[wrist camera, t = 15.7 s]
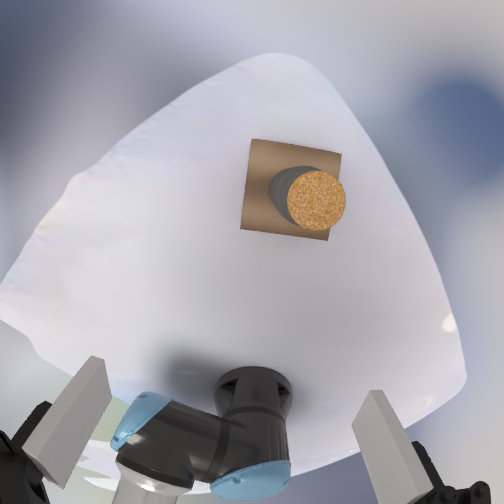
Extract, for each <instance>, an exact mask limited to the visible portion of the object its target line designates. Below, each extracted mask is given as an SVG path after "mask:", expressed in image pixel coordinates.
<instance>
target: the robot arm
mask: <svg viewBox="0 0 504 504" xmlns="http://www.w3.org/2000/svg"><path fill="white" fill-rule="evenodd" d="M111 399H112V395H111V391H110V387H109V382H108V377H107V372H106V367H105V362H104V359H101V358H98V357H95V356H90V358H89V359H88V360H87V361H86V362H85V364H84V365H83V366H82V367H81V369H80V370H79V371H78V372H77V374H76V375H75V376H74V377H73V379H72V380H71V381H70V382H69V384H68V385H67V386H66V388H65V389H64V390H63V392H62V393H61V394H60V395H59V397H58V398H57V399H56V401H55V402H54V403H53V404H51V403H49V402H47V401H45V402H43V403H41V404H39V405H37V406H36V408H35V409H34V410H33V412H32V413H31V415H29V417H28V418H27V420H25V422H24V423H23V424H22V426H21V427H20V428H19V430H18V431H17V433H16V434H15V435H14V437H13V438H12V440H10V439H9V438H8V436H7V435H6V434H5V433H4V432H3V431H1V430H0V504H50V502H49V499H48V496H47V493H46V490H45V487H44V484H43V482H42V478H43V476H44V477H45V478H46V479H47V480H48V481H49V482H50V483H52V484H54V485H56V486H57V487H59V488H61V489H64V487H65V485H66V483H67V481H68V479H69V477H70V475H71V473H72V471H73V469H74V467H75V465H76V463H77V461H78V459H79V457H80V455H81V454H82V452H83V450H84V448H85V446H86V444H87V442H88V440H89V438H90V437H91V435H92V433H93V431H94V429H95V427H96V425H97V424H98V422H99V420H100V418H101V416H102V415H103V413H104V411H105V409H106V407H107V406H108V404H109V402H110V401H111ZM291 402H292V394H291V387H290V385H289V383H288V381H287V380H286V379H285V378H284V377H283V376H282V375H281V374H279V373H277V372H275V371H273V370H270V369H267V368H262V367H243V368H239V369H235V370H232V371H230V372H228V373H226V374H225V375H224V376H222V377H221V378H220V379H219V381H218V382H217V384H216V387H215V392H214V403H215V406H216V409H217V413H218V416H219V417H218V416H215V415H212V414H209V413H206V412H203V411H200V410H197V409H194V408H192V407H189V406H186V405H184V404H181V403H179V402H176V401H174V400H173V399H172V398H166V397H164V396H161V395H158V394H156V393H153V392H143V393H141V394H140V395H139V396H138V397H137V398H136V399H135V400H134V401H133V403H132V404H131V406H130V407H129V409H128V410H127V412H126V413H125V415H124V417H123V418H122V420H121V422H120V423H119V425H118V427H117V429H116V431H115V434H114V436H113V438H112V440H111V443H110V446H111V448H113V449H114V451H116V452H117V451H118V455H117V457H116V460H115V463H116V465H117V467H118V468H119V470H120V472H121V478H120V481H119V484H118V487H117V490H116V492H115V495H114V499H113V501H112V504H176V501H177V498H178V496H179V495H181V494H183V493H186V492H188V491H191V490H192V487H193V483H194V481H195V480H198V481H202V482H205V483H209V484H210V489H211V492H212V493H213V494H214V495H215V496H218V497H219V498H222V499H227V500H234V501H248V500H258V499H263V498H267V497H270V496H273V495H276V494H278V493H280V492H281V491H283V490H284V489H285V488H286V487H287V486H288V485H289V482H290V467H291V463H290V459H289V450H288V441H287V432H286V423H285V421H286V418H287V415H288V412H289V409H290V406H291ZM352 428H353V431H354V434H355V436H356V439H357V442H358V445H359V447H360V450H361V453H362V456H363V458H364V461H365V464H366V467H367V470H368V473H369V476H370V479H371V481H372V484H373V487H374V490H375V493H376V496H377V499H378V502H379V504H491V496H490V488H489V486H488V484H487V483H485V482H483V481H478V482H476V483H475V484H473V485H472V486H471V487H470V488H466V489H459V490H456V489H455V488H454V487H451V486H445V485H444V484H443V482H442V480H441V478H440V476H439V474H438V472H437V471H436V469H435V467H434V465H433V463H431V459H430V457H429V456H428V454H427V452H426V450H425V448H424V447H423V446H422V445H421V444H420V443H419V442H418V441H414V442H410V440H409V438H408V436H407V434H406V432H405V430H404V428H403V427H402V425H401V423H400V421H399V419H398V417H397V416H396V414H395V412H394V410H393V408H392V407H391V405H390V403H389V401H388V399H387V398H386V396H385V394H384V392H383V390H372V391H369V393H368V395H367V397H366V399H365V401H364V403H363V405H362V407H361V409H360V411H359V412H358V414H357V416H356V418H355V420H354V421H353V423H352Z"/></svg>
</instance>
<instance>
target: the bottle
mask: <svg viewBox="0 0 504 504" xmlns="http://www.w3.org/2000/svg"><path fill="white" fill-rule="evenodd" d="M269 193H270V197H271V200H272V202H273V204H274V205H275V207H276V208H277V210H278V211H279V212H280V214H281V215H282V216H283V217H284V218H285V219H286V220H287V221H289V222H290V223H292V224H294V225H297V226H301V227H303V228H305V229H308V230H313V231H320V230H325V229H327V228H330V227H331V226H333V225H334V224H335V223H336V222H337V221H338V220H339V219H340V218H341V216H342V214H343V212H344V209H345V203H346V201H345V193H344V190H343V187H342V186H341V184H340V183H339V181H338V180H337V179H336V178H335V177H333V176H332V175H330V174H328V173H326V172H323V171H321V170H320V169H318V168H315V167H312V166H298V167H292V168H288V169H285V170H282V171H280V172H279V173H277V174H276V175H275V176H274V178H273V179H272V181H271V184H270V188H269Z"/></svg>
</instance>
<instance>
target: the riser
mask: <svg viewBox="0 0 504 504" xmlns="http://www.w3.org/2000/svg"><path fill="white" fill-rule="evenodd" d="M341 155H342V154H339V153H335V152H330V151H325V150H320V149H315V148H310V147H304V146H298V145H293V144H286V143H280V142H273V141H266V140H259V139H252V141H251V148H250V156H249V163H248V171H247V179H246V186H245V194H244V202H243V210H242V218H241V226H240V229H245V230H253V231H261V232H268V233H276V234H283V235H290V236H298V237H305V238H312V239H319V240H326V241H328V237H329V231H330V228H327V229H325V230H320V231H313V230H308V229H305V228H303V227H301V226H297V225H294V224H292V223H290V222H289V221H287V220H286V219H285V218H284V217H283V216H282V215H281V214H280V212H279V211H278V210H277V208H276V207H275V205H274V204H273V202H272V200H271V197H270V193H269V188H270V184H271V181H272V179H273V178H274V176H275V175H276V174H277V173H279V172H280V171H282V170H285V169H288V168H292V167H298V166H312V167H315V168H318V169H320V170H321V171H323V172H326V173H328V174H330V175H332V176H333V177H335V178H336V179H337V180H338V177H339V170H340V163H341Z"/></svg>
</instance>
